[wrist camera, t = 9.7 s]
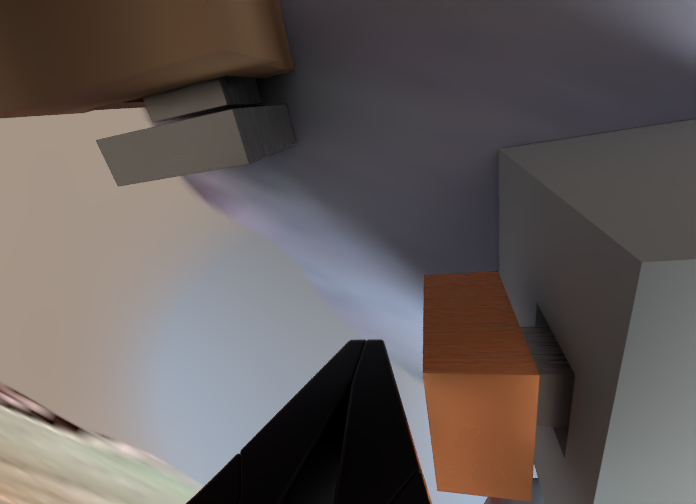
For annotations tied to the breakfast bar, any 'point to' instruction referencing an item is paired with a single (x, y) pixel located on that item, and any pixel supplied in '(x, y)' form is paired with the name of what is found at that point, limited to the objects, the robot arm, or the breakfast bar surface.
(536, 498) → the plastic bottle
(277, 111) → the rail
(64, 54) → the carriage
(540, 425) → the plunger
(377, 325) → the breakfast bar surface
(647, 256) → the block
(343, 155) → the breakfast bar surface
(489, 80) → the breakfast bar surface
